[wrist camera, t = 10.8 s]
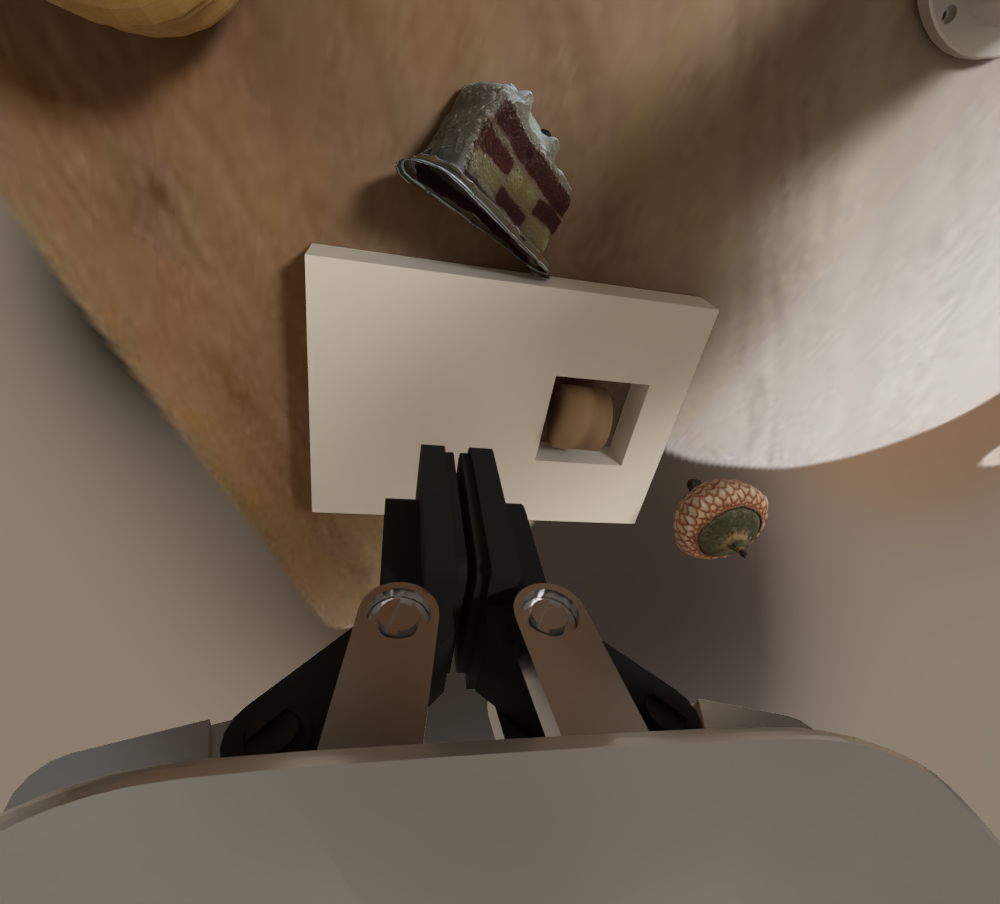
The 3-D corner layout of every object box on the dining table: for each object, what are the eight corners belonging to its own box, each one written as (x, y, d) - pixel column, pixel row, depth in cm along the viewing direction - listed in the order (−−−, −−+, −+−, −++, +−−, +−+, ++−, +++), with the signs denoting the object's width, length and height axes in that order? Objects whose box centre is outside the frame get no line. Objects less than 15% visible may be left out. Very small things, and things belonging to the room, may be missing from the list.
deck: (700, 297, 40) (719, 310, 37) (623, 503, 50) (634, 523, 48) (312, 242, 34) (304, 254, 31) (317, 489, 44) (311, 512, 42)
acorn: (638, 469, 48) (685, 545, 40) (723, 430, 47) (789, 499, 39) (661, 526, 53) (708, 604, 45) (739, 491, 52) (802, 565, 44)
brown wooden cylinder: (554, 376, 42) (594, 381, 43) (543, 435, 44) (582, 439, 45) (574, 392, 38) (618, 397, 39) (560, 456, 39) (603, 460, 40)
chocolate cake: (610, 195, 35) (576, 58, 24) (554, 287, 36) (496, 197, 25) (499, 146, 38) (422, 4, 27) (450, 232, 39) (356, 129, 28)
